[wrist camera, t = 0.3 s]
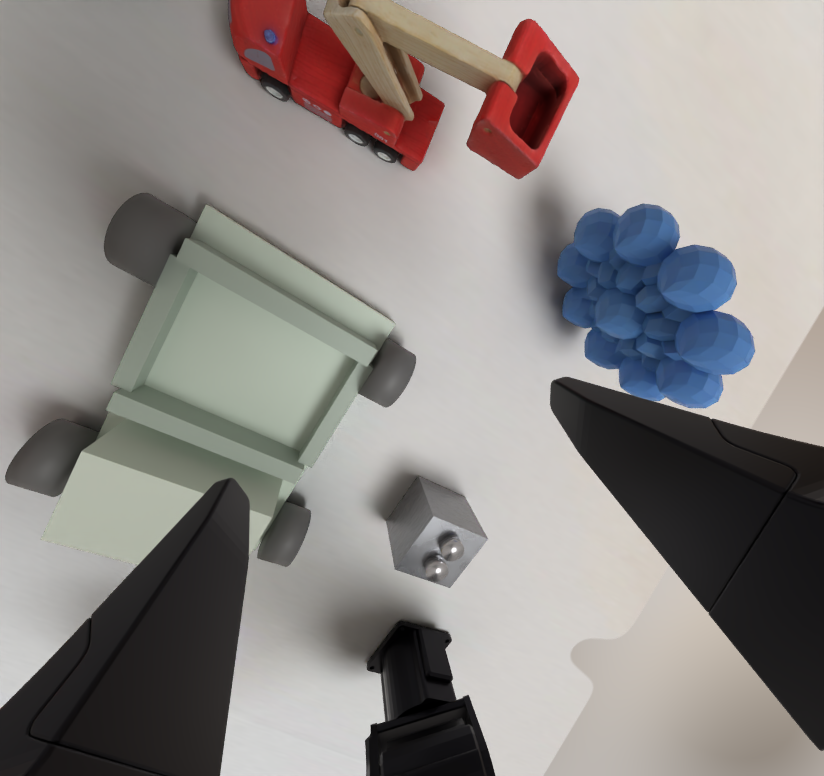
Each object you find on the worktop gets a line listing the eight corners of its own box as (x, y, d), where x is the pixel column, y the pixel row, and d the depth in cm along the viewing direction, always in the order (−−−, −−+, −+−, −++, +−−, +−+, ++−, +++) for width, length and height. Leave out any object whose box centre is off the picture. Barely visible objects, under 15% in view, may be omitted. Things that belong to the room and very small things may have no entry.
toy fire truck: (257, 2, 17) (160, -304, 8) (486, 153, 21) (595, 70, 12) (237, 76, 17) (128, -124, 8) (462, 208, 22) (548, 167, 13)
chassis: (282, 546, 27) (270, 605, 23) (48, 471, 22) (-34, 528, 17) (416, 336, 24) (436, 353, 19) (176, 184, 18) (117, 154, 14)
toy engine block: (433, 539, 30) (453, 597, 25) (386, 520, 29) (396, 578, 23) (464, 496, 29) (492, 547, 24) (418, 474, 28) (436, 524, 22)
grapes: (628, 348, 28) (822, 403, 17) (554, 381, 27) (701, 459, 16) (611, 195, 23) (860, 129, 12) (522, 231, 23) (694, 198, 12)
